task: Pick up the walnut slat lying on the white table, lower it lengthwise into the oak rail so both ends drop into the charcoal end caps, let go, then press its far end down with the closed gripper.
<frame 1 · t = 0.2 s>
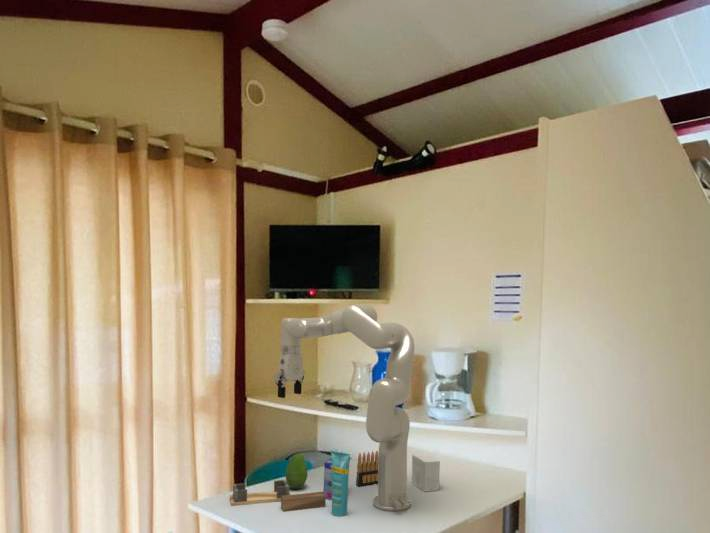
hand: (289, 395, 206), 31 cm above the table, tool pointing down, fingers open, 9 cm apart
tube: (339, 514, 172), on the table
avocado: (295, 488, 194), on the table
rail: (260, 499, 183), on the table
ammunition clip: (370, 485, 199), on the table
ink cartridge box: (335, 495, 188), on the table
slat: (303, 508, 177), on the table
skincare box: (425, 487, 198), on the table
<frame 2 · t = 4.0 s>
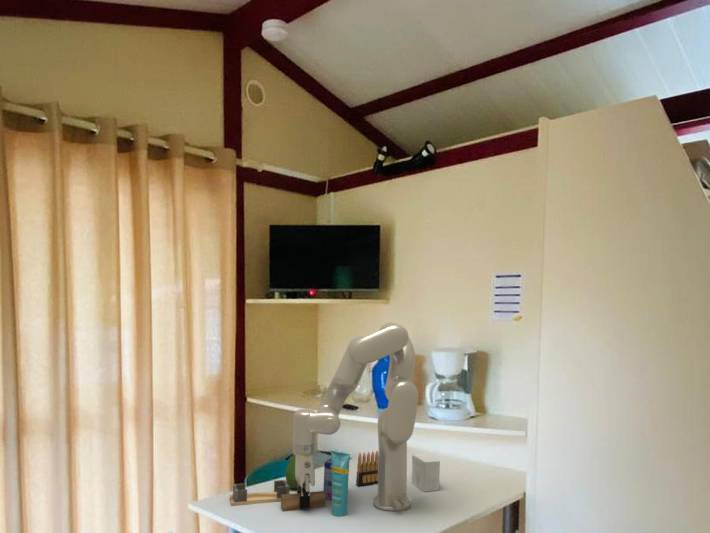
hand: (303, 504, 177), 1 cm above the table, tool pointing down, fingers closed on slat, 3 cm apart
slat: (303, 507, 177), on the table, touching gripper
everything else where it was.
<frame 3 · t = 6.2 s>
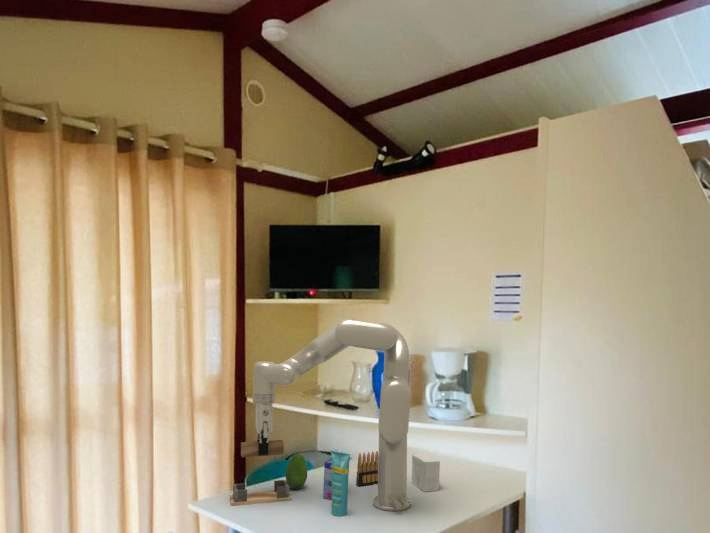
hand: (262, 452, 184), 16 cm above the table, tool pointing down, fingers closed on slat, 3 cm apart
slat: (262, 454, 184), point 15 cm above the table, touching gripper
everything else where it was.
when the fingers open (3 cm above the table, at t = 8.8 s): slat drops 1 cm, resting on rail.
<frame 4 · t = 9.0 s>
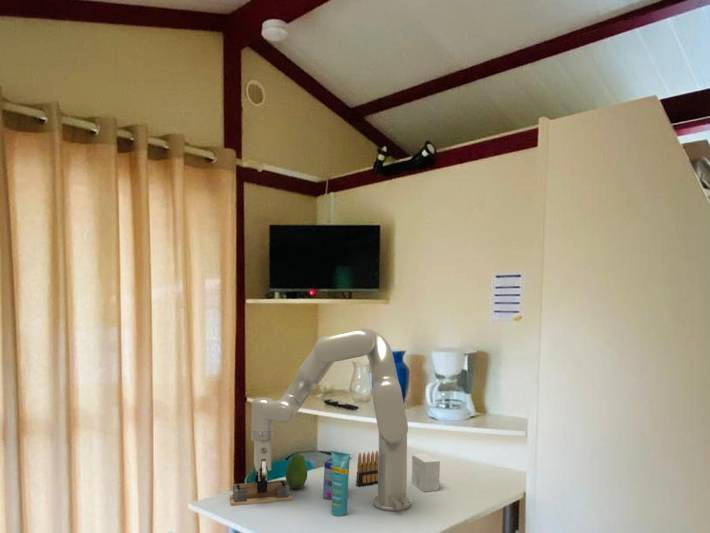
hand: (260, 488, 183), 3 cm above the table, tool pointing down, fingers open, 5 cm apart
slat: (260, 496, 183), point 1 cm above the table, touching rail
everything else where it was.
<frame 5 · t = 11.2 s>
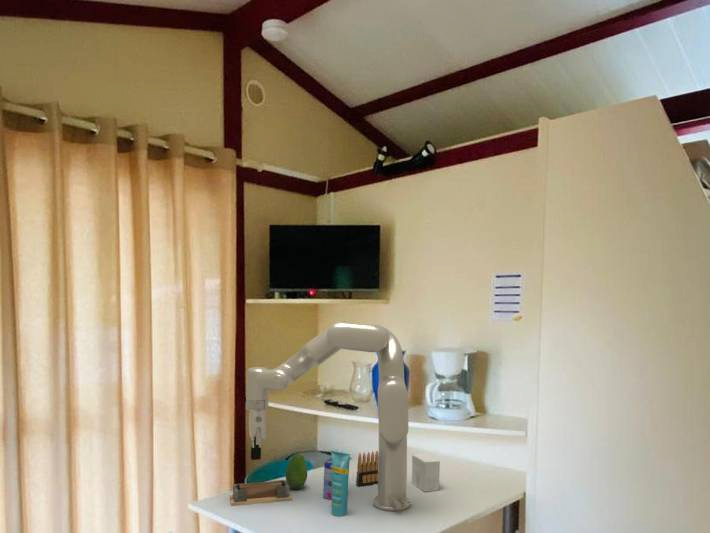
hand: (255, 458, 183), 13 cm above the table, tool pointing down, fingers closed
nothing on the table moved.
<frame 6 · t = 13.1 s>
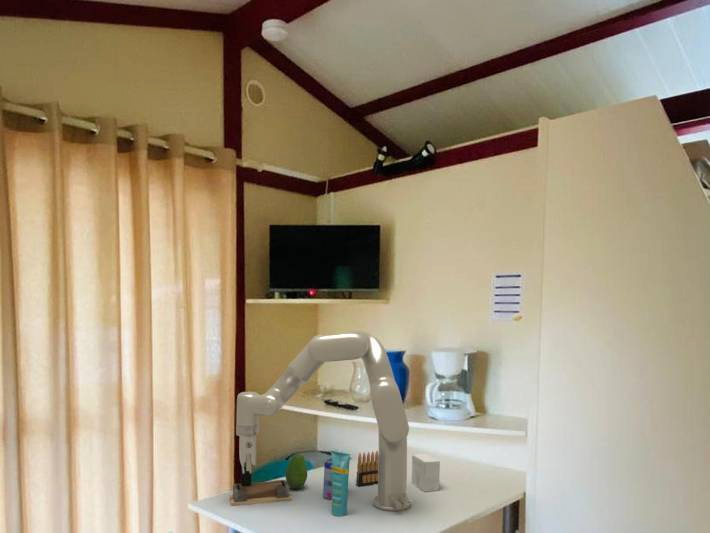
hand: (246, 484, 182), 5 cm above the table, tool pointing down, fingers closed
nothing on the table moved.
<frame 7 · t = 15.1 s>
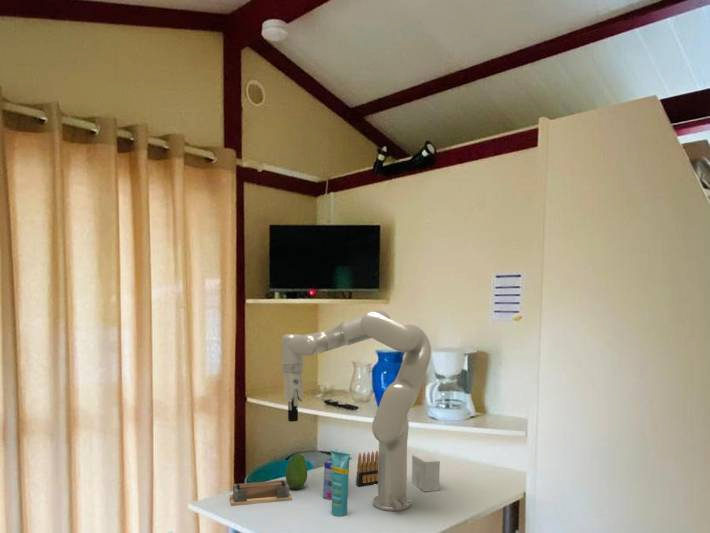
hand: (293, 420, 193), 24 cm above the table, tool pointing down, fingers closed
nothing on the table moved.
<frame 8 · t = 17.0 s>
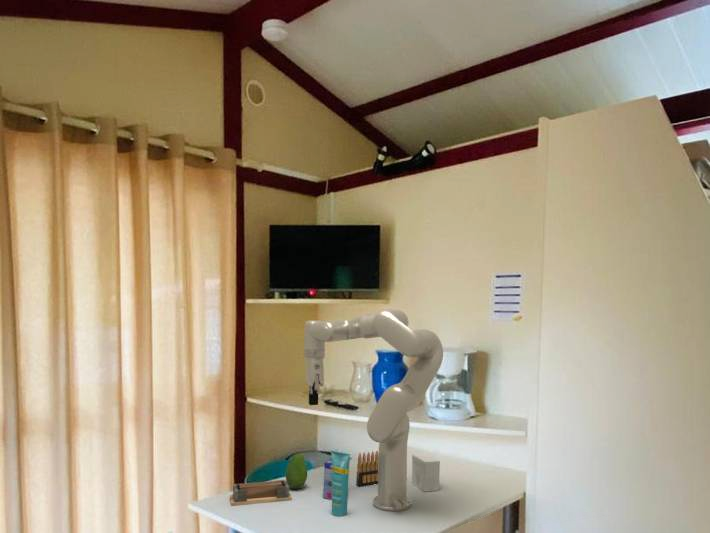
hand: (313, 404, 198), 29 cm above the table, tool pointing down, fingers closed
nothing on the table moved.
at the end: slat 0.1 cm off-centre on the rail, point 1.0 cm above the rail's base; slat tilted 0°; the gripper is holding nothing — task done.
